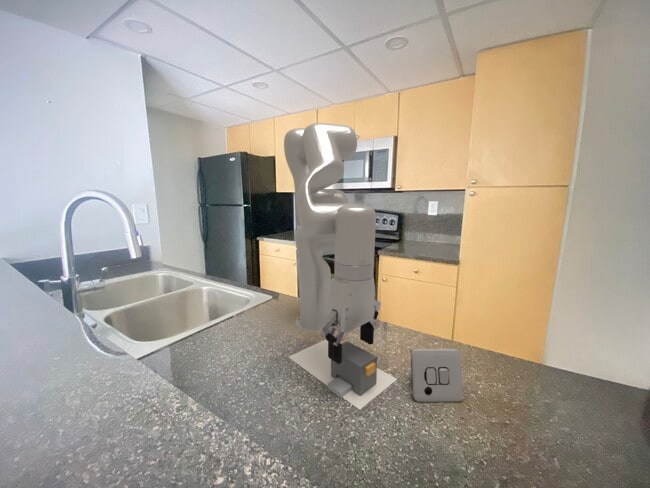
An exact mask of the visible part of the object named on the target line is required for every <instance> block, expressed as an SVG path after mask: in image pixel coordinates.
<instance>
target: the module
mask: <svg viewBox="0 0 650 488" xmlns="http://www.w3.org/2000/svg"><path fill="white" fill-rule="evenodd" d="M341 344H342V362H341V363H340V364H337V363H336V362H334V361H333V360H331V377H333V378H334V379H336V378H337V377H339V376H341V377H342V378H344V379H345V380H347V381H348V382H350V383H351V384H353V385H354V392H355V393H356V394H358V395H359V396H361V395H363V394H364V393H365V392H367V391H368V390H369V389H371V388H372V387H373V386H374V385H376V379H377V368H378V356H377V355H375V354H374V353H371V352H370V351H367V350H365V349H363V348H361V347H359V346H358V345H355V344H353V343H351V342H349V341H348V340H347V341H345V342H343V343H341Z"/></svg>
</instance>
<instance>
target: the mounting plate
mask: <svg viewBox="0 0 650 488" xmlns="http://www.w3.org/2000/svg"><path fill="white" fill-rule="evenodd" d="M288 359H290V360H291V361H293V362H294V363H295V364H297V365H298V366H300V367H301V368H302V369H304V370H305V371H306V372H308V373H309V374H311V375H312V376H313V377H315V378H316V379H317V380H319V381H320V382H321V383H322V384H324V385H326V387H327V389H328V390H329V391H330V392H332V393H333V394H334V395H336V396H337V397H339V398H340V399H341V398H343V399H344V400H346V401H347V402H348V403H350V404H351V405H353V406H354V407H355V408H356V409H358V410H361V409H363V408H364V407H365V406H367V405H368V404H369V403H370V402H372V400H374V399H375V398H376V397H377V396H379V395H380V394H381V393H382V392H384V391H385V390H386V389H387V388H388V387H390V386H391V385H392V384H393V383H395V382H396V381H397V380H398V378H396V377H395V376H393V375H391V374H389V373H387V372H385V371H383V370H382V369H380V368H378V367H377V379H376V385H374V386H373V387H372V388H371V389H369V390H368V391H367V392H365V393H364V394H363V395H361V396H359V395H358V394H356V393H355V392H354V385H353V384H351V383H350V382H348V381H347V380H345V379H344V378H342V377H341V376H339V377H337V378H336V379H334V378H333V377H331V359H330V358H329V357H328V341H327V340H326V339H324V340H321V341H318V342H317V343H315V344H312V345H310V346H309V347H307V348H304V349H302V350H299V351H298V352H295V353H293V354H291V355H289V356H288Z"/></svg>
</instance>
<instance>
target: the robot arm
mask: <svg viewBox="0 0 650 488" xmlns="http://www.w3.org/2000/svg"><path fill="white" fill-rule="evenodd" d="M357 149H358V137H357V134H356V132H355V131H354V129H353V128H352V127H351V126H349V125H345V124H336V123H325V122H314V123H311V124H309V125H307V126H306V127H304V128H302V127H300V128H293V129H290V130H288V131H287V132H286V133H285V136H284V139H283V151H284V157H285V160H286V164H287V166H288V167H287V168H288V169H289V170H290V173H291V176H292V179H293V185H294V186H293V187H294V194H295V195H294V196H295V204H296V210H297V211H296V212H297V214H298V221H299V224H300V226H298V227H297V229H296V230H295V233H294V235H295V236H294V240H295V246H296V252H297V259H298V283H299V284H298V286H299V294H298V295H299V317H298V318H296V319H295V322H294V324H295V326H296V327H297V328H298V329H300V330H302V331H306V332H320V335H321V337H322V338H323V339H324V340H325V339H326V340H327V341H328V357H329V358H330V359H331V360H333V361H334V362H336V363H337V364H340V363H341V362H342V344H343V343H341V341H342V339H343V338H344V335H345V334H346V333H349V332H351V331H353V330H355V329H357V328H359V327H360V334H359V340H361V341H363V342H364V343H366V344H368V345H373V344H374V340H375V339H374V335H375V326H376V324H377V320H376V319H377V318H378V316H379V310H380V309H381V308H380V307H381V301H379V300H376V285H375V279H374V278H375V277H374V269H375V268H374V267H375V246H376V225H377V223H376V222H377V217H376V215H377V214H376V211H375V208H374V207H371V206H368V205H360V204H358V203H351V202H349V199H348V197H347V195H346V193H345V192H344V191H342V190H341V189H329V187H331V186H333V185H335V184H336V183H338V182H339V181H340V180H342V178H343V175H344V173H345V165H344V162H343V161H344V160H349V159H351V158H353V157H354V155H355V154H356V152H357ZM326 188H328V189H326ZM327 255H334V274H333V275H334V277H331V276H332V274H331V267H330V265H329V264H328V262H327V261H326V260H325V259H324V258H323V256H327ZM336 331H338V332H337V334H336V336H335V335H334V334H335V332H336Z"/></svg>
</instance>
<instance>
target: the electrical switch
mask: <svg viewBox="0 0 650 488" xmlns="http://www.w3.org/2000/svg"><path fill="white" fill-rule="evenodd" d="M409 352H410V354H409V355H410V372H411V384H412V388H413V389H412V398H413V399H414V401H416V402H418V403H419V402H420V403H422V402H423V403H427V402H428V403H429V402H433V403H434V402H442V403H443V402H462V401H463V399H464V393H463V392H464V391H463V379H462V378H463V377H462V364H461V353H460V351H459V350H457V349H456V348H428V349H427V348H423V349H422V348H417V349H415V348H414V349H410V351H409Z"/></svg>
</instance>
